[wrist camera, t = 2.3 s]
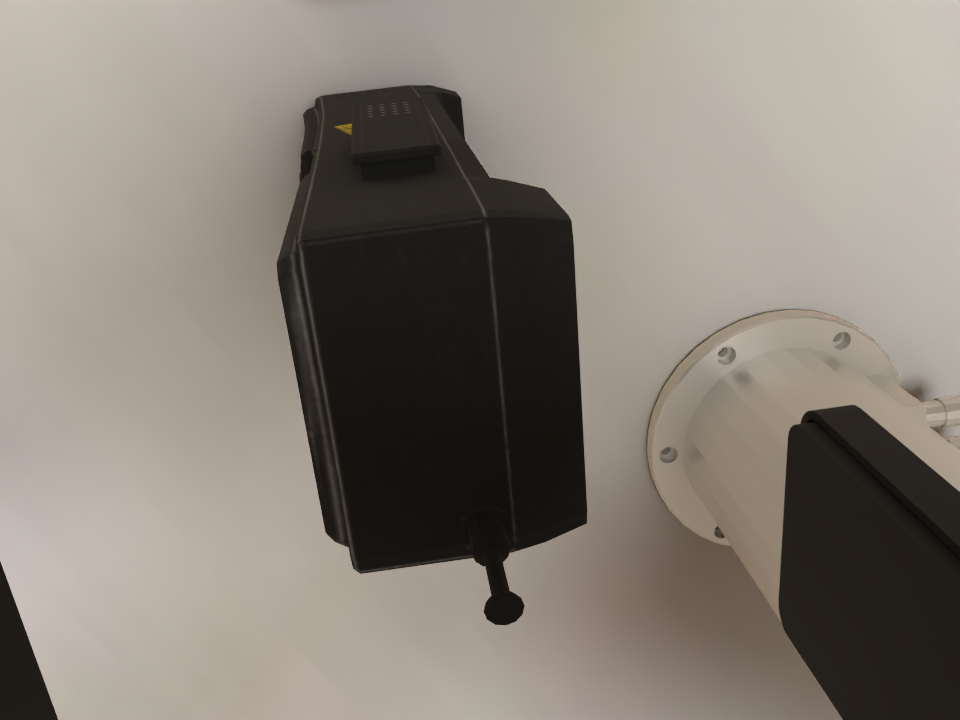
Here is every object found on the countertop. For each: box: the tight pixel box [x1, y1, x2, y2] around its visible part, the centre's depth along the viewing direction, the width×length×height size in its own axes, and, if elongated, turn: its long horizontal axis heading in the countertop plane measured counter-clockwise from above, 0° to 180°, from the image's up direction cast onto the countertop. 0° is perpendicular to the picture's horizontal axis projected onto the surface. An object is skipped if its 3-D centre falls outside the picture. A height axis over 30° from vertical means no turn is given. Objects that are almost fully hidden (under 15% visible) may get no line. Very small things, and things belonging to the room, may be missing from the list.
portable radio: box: [277, 86, 587, 625], centre depth 25 cm, size 8×6×25 cm
